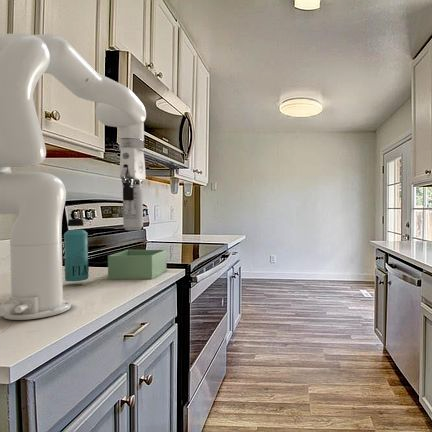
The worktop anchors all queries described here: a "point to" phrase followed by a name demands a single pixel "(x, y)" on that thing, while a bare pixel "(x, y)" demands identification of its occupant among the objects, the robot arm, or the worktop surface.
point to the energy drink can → (133, 210)
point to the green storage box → (137, 264)
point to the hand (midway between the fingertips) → (132, 199)
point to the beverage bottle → (76, 252)
